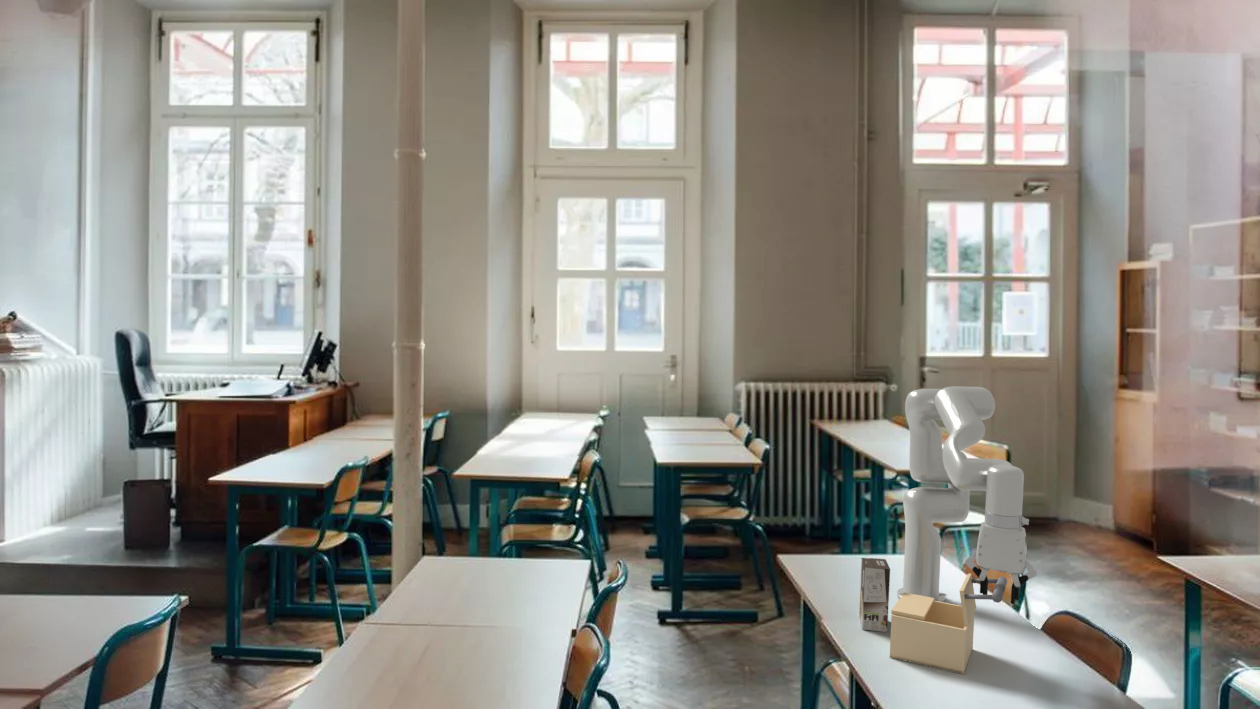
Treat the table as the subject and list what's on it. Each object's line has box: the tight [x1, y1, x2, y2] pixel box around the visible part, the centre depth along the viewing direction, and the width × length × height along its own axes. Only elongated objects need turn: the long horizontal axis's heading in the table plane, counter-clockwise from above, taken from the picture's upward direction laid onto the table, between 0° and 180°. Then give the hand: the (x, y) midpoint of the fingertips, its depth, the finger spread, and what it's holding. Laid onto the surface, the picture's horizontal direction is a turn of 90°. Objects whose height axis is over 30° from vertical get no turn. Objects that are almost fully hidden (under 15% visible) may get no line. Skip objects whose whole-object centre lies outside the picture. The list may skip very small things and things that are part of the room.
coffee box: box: [858, 557, 891, 633], centre depth 204 cm, size 9×6×16 cm
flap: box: [959, 573, 1008, 627], centre depth 181 cm, size 8×14×8 cm
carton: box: [889, 592, 975, 675], centre depth 187 cm, size 16×16×11 cm
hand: (998, 598), depth 179 cm, fingers open, 5 cm apart
